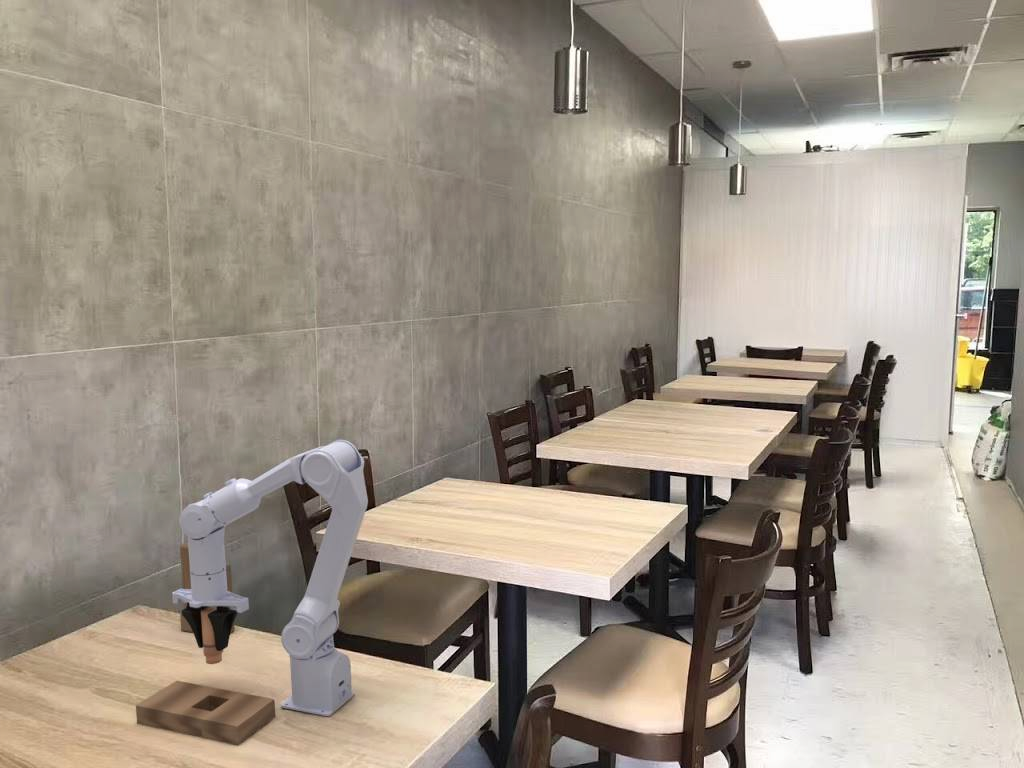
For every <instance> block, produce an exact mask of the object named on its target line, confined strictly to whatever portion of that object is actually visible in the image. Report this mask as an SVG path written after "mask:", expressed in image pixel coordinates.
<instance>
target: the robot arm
mask: <svg viewBox="0 0 1024 768" xmlns="http://www.w3.org/2000/svg"><path fill="white" fill-rule="evenodd" d="M364 467H365V460H364V458H363V457H362V455H361V454H360V452H359V450H358V449H357V448H356V446H355V445H354V444H353V443H351V442H350V441H348V440H346V439H337V440H333V441H332V442H330V443H329V444H327V445H322V446H319V447H316V448H313V449H310V450H307V451H305V452H302V453H300V454H297V455H295V456H292V457H290V458H288V459H287V460H284V461H283V462H281V463H280V464H278V465H276V466H274V467H273V468H271V469H270V470H268V471H265V473H262V474H261V475H260V476H258V477H256V478H255V479H253V480H249V479H247V478H244V477H242V478H238V479H236V478H235V477H234V478H232V479H229V480H228V481H225V483H224V484H225V486H224V487H222V488H221V489H219V490H216V491H214V493H213V491H210V492H208V493H206V494H204V495H203V498H204V499H202V500H199V501H197V502H195V503H190V504H188V505H187V506H186V507H185V508H184V509H183V510H182V511H181V513H180V514H179V518H178V519H179V520H178V522H179V528H180V530H181V531H182V533H183V534H184V535H186V537H187V542H188V549H189V564H190V577H191V589H183V588H179V589H177V590H176V591H172V593H171V594H172V604H175V605H178V604H180V603H182V604H184V603H187V606H186V608H185V609H184V608H183V609H182V610H181V614H182V616H183V617H184V618H185V619H186V620H187V622H188V623H189V625H190V627H191V629H192V631H193V632H192V634H193V635H194V638H195V641H196V644H197V646H198V649H203V637H202V623H201V610H203V609H205V608H208V607H216V608H217V610H215V611H213V612H211V613H209V614H208V618H209V620H210V622H211V624H212V627H213V631H214V638H215V646H216V650H217V651H221V650H223V651H224V650H225V649H226V648H228V647H229V641H230V635H231V633H230V632H231V629H232V625H233V623H234V624H235V620H236V617H237V616H238V614H242V613H244V612H246V611H247V610H249V609H250V607H249V606H250V605H249V603H250V602H249V597H245V596H241V595H239V594H237V593H234V592H233V591H232V592H229V591H227V577H226V565H227V563H226V551H225V550H226V548H225V547H226V546H225V536H226V533H225V529H226V526H227V525H230V524H231V523H233V522H235V521H236V520H238V519H240V518H242V517H244V516H246V515H248V514H250V513H251V512H254V511H255V510H257V509H258V508H259V506H260V503H261V499H262V497H264V496H267V495H268V494H270V493H272V492H274V491H276V490H277V489H280V488H283V486H285V485H287V484H289V483H291V482H295V483H297V484H298V485H299V484H300V485H304V484H305V483H307V484H308V486H309V487H311V488H312V489H313V490H314V491H315V492H316V493H317V494H318V495H320V496H321V498H323V500H325V501H326V502H327V503H328V505H329V506H330V508H331V512H330V516H329V518H328V522H327V526H326V528H325V531H324V534H323V537H322V541H321V544H320V547H319V550H318V553H317V556H316V560H315V562H314V566H313V569H312V571H311V575H310V578H309V582H308V584H307V587H306V590H305V593H304V596H303V598H302V599H301V601H300V603H299V605H297V607H296V609H295V611H294V613H293V615H292V618H291V620H290V621H289V622H288V623H287V624H286V625H285V626H284V628H283V629H282V631H281V635H280V637H281V638H280V641H281V644H282V647H283V649H284V651H285V652H286V653H287V654H288V655H289V663H290V666H289V667H290V683H291V684H290V687H291V696H290V697H288V699H286V700H285V701H284V702H282V703H281V704H280V707H281V708H283V709H288V710H293V711H298V712H303V713H308V714H309V713H310V714H313V715H318V716H324V717H330V716H331V715H332V714H334V713H335V712H336V711H337V710H339V709H340V707H342V706H343V705H344V704H345V703H347V702H348V701H349V700H350V699H352V698H353V696H355V692H354V691H353V689H352V665H351V660H350V657H349V656H348V655H347V654H345V653H342V652H341V651H339V650H338V649H336V647H335V643H334V642H335V641H334V634H335V633H336V632H337V630H338V628H339V626H340V617H339V608H340V604H341V601H340V600H339V599H338V595H339V593H340V590H341V587H342V584H343V581H344V578H345V575H346V572H347V569H348V566H349V563H350V560H351V557H352V553H353V550H354V548H355V544H356V542H357V539H358V535H359V532H360V530H361V526H362V523H363V520H364V517H365V515H366V511H367V509H368V503H369V499H368V493H367V487H366V481H365V476H364V475H365V474H364V469H365V468H364Z"/></svg>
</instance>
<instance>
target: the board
mask: <svg viewBox="0 0 1024 768" xmlns="http://www.w3.org/2000/svg"><path fill="white" fill-rule="evenodd" d="M275 704H276V701H275V698H270V697H267V696H266V697H265V696H260V695H257V694H256V695H255V694H249V693H245V692H244V693H243V692H240V691H233V690H229V689H222V688H218V687H212V686H207V685H202V684H196V683H193V682H192V683H191V682H186V681H181V680H175V681H174V682H172V683H170V684H168V685H167V686H165V687H164V688H163V689H160V690H159V691H157V692H156V693H154V694H152V695H151V696H148V698H146V699H144V700H143V701H140V702H139V703H137V704H136V705H135V713H136V715H135V716H136V724H139V725H142V726H143V725H144V726H150V727H153V728H158V729H162V730H167V731H172V732H175V733H182V734H185V735H190V736H194V737H198V738H202V739H203V738H204V739H208V740H213V741H218V742H222V743H227V744H232V745H235V746H239V745H241V744H242V743H244V742H245V741H246V740H247V739H249V738H250V737H251V736H252V735H254V734H255V733H256V732H257V731H259V730H260V729H262V728H263V727H265V725H266V724H269V722H270V721H272V720H274V718H276V705H275Z"/></svg>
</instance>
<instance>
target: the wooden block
mask: <svg viewBox="0 0 1024 768" xmlns="http://www.w3.org/2000/svg"><path fill="white" fill-rule="evenodd" d="M179 552H180V554H179V555H180V556H179V557H180V567H181V582H182V589H191V577H190V564H189V549H188V541H186V542H183V543H181V544H180V546H179ZM226 577H227V591H229V592H232V593H233V580H232V564H231V563H229V564H226ZM186 606H187V603H183V609H185V608H186ZM179 617H180V629H181V631H182V632H189V633H193V631H192V629H191V627H190V625H189V623H188V622H187V620H186V619H185V618H184V617H183V616H182V613H180V616H179ZM233 632H235V622H234V623H233V625H232V629H231V632H230V634H231V633H233Z"/></svg>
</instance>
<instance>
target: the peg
mask: <svg viewBox="0 0 1024 768" xmlns="http://www.w3.org/2000/svg"><path fill="white" fill-rule="evenodd" d="M215 610H217V608H216V607H208V608H205V609H203V610H201V623H202V637H203V648H202V649H203V650H202V651H203V652H202V653H203V656H205V663H206V664H208V665H215V664H219V663H221V662H222V661H223V653H224V649H223V650H221V651H217V650H216V646H215V638H214V631H213V627H212V624H211V622H210V620H209V618H208V614H209V613H211V612H213V611H215Z"/></svg>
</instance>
